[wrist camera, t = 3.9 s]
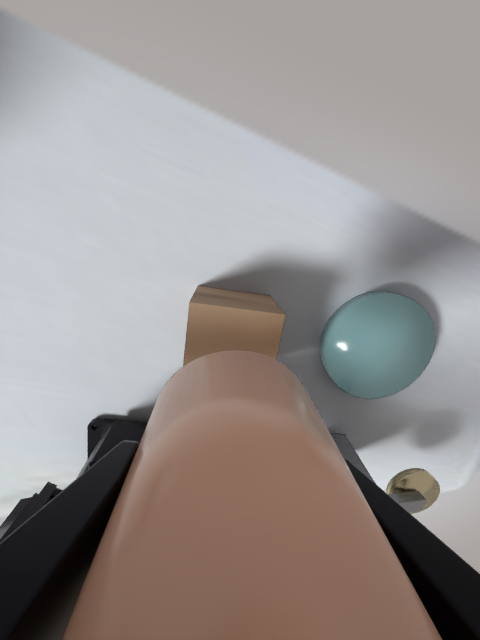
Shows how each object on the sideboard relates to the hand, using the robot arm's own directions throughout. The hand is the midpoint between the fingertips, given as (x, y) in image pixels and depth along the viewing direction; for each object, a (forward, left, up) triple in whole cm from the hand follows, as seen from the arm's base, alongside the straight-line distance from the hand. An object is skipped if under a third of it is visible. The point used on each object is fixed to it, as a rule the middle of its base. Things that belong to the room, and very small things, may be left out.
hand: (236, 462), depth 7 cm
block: (0, 0, -13) cm, 13 cm away
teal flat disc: (0, -11, -12) cm, 17 cm away
